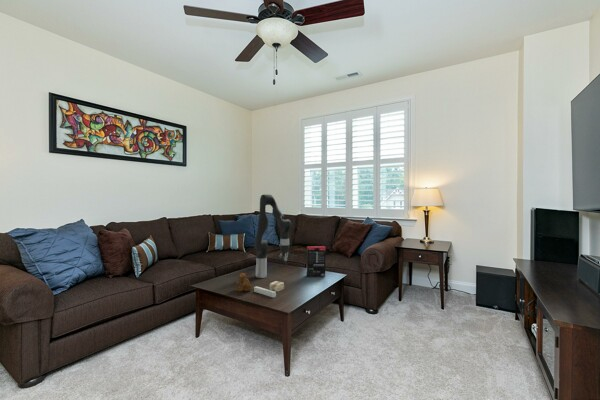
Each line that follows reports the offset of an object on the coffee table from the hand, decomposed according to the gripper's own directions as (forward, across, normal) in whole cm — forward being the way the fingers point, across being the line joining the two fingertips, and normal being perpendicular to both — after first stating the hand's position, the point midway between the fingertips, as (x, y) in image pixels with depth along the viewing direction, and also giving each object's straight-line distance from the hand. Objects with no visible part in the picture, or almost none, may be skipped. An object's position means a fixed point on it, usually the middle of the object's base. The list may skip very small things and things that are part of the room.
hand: (284, 265), depth 228 cm
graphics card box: (+17, -38, +5) cm, 43 cm away
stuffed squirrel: (+17, +27, -18) cm, 37 cm away
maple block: (+17, +10, 0) cm, 20 cm away
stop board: (+17, +23, 0) cm, 29 cm away
